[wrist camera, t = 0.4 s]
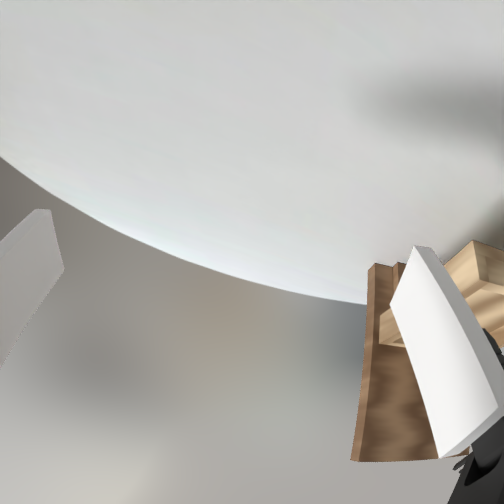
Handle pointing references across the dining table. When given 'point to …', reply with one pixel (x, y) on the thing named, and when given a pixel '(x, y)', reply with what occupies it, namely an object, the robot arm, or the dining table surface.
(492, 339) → the robot arm
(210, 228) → the dining table surface
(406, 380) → the bracket
